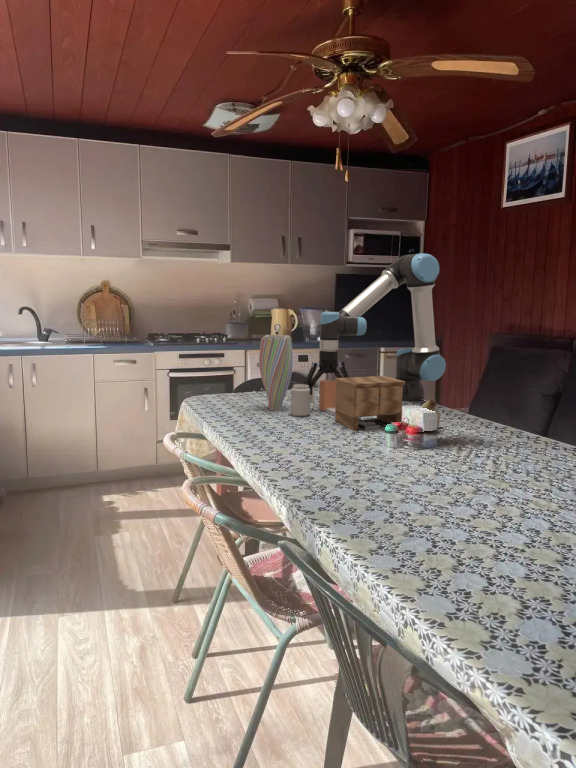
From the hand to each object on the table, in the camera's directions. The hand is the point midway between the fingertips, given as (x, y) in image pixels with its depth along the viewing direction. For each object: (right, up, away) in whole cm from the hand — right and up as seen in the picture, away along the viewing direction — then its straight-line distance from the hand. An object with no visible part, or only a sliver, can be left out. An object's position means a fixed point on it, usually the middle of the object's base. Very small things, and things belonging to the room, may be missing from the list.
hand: (326, 401), depth 240 cm
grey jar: (-11, -5, -10) cm, 16 cm away
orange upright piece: (+5, -5, -10) cm, 12 cm away
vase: (-21, -3, +1) cm, 21 cm away
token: (+13, -9, -30) cm, 34 cm away
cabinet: (+14, -7, -23) cm, 27 cm away
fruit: (+33, -10, -32) cm, 47 cm away
